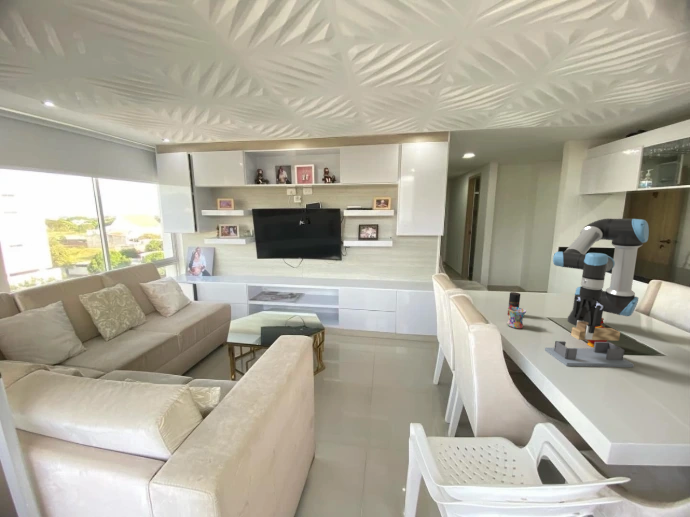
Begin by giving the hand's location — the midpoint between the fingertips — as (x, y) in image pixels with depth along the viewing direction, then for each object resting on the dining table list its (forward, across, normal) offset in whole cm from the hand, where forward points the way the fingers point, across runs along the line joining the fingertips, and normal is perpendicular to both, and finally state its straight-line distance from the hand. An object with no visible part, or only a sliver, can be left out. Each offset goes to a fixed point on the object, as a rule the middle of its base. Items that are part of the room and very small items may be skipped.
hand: (583, 336), depth 128 cm
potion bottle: (+11, -13, +18) cm, 25 cm away
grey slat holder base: (+11, 0, +3) cm, 11 cm away
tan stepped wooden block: (+1, 0, +5) cm, 5 cm away
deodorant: (+11, -54, 0) cm, 55 cm away
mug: (+11, -37, -8) cm, 40 cm away
